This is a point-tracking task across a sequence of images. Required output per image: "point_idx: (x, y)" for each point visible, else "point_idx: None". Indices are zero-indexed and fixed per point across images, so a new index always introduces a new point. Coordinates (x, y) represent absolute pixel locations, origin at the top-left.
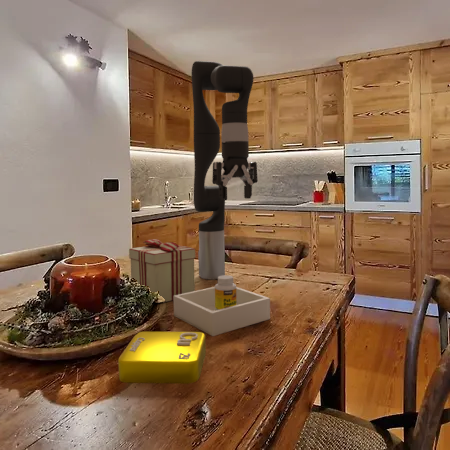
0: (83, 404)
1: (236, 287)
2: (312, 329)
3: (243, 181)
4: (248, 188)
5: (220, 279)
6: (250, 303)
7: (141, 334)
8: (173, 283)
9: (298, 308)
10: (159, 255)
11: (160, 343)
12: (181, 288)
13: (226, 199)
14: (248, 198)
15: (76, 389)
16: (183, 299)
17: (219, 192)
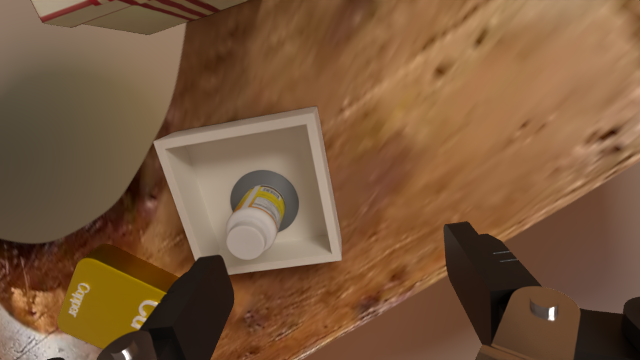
0: (43, 332)
1: (318, 155)
2: (373, 303)
3: (499, 337)
4: (479, 330)
5: (229, 248)
6: (289, 266)
7: (85, 270)
8: (176, 14)
9: (427, 217)
10: (64, 17)
11: (111, 309)
12: (211, 6)
13: (229, 299)
14: (446, 266)
15: (30, 304)
16: (169, 180)
17: (160, 305)
